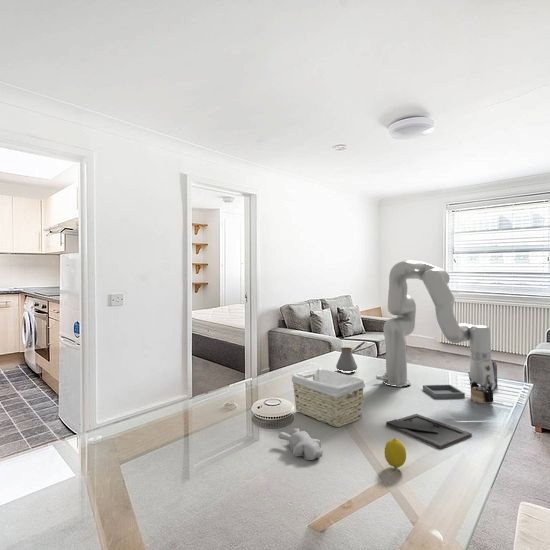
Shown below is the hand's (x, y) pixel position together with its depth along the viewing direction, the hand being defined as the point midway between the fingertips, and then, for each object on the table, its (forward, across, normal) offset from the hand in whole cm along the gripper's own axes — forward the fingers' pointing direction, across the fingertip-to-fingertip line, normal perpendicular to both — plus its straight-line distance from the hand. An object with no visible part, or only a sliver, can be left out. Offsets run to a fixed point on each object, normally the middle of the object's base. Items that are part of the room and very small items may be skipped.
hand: (481, 398), depth 151 cm
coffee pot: (+1, +56, +40) cm, 69 cm away
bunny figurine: (+2, -39, +77) cm, 86 cm away
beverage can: (+2, +20, -15) cm, 25 cm away
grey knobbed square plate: (+2, 0, 0) cm, 2 cm away
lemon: (+2, -50, +53) cm, 73 cm away
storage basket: (+2, -10, +65) cm, 66 cm away
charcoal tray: (+2, +10, +11) cm, 15 cm away
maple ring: (+1, 0, 0) cm, 1 cm away
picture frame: (+2, -27, +34) cm, 43 cm away
